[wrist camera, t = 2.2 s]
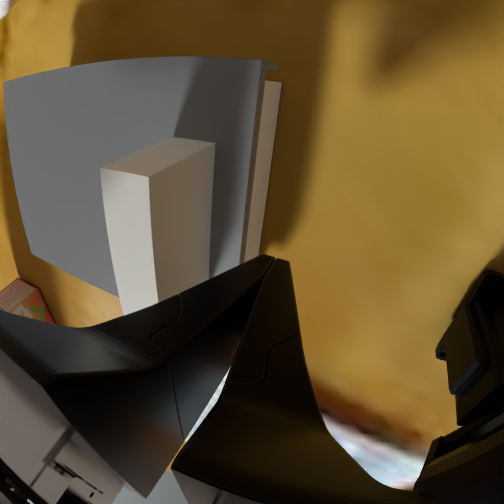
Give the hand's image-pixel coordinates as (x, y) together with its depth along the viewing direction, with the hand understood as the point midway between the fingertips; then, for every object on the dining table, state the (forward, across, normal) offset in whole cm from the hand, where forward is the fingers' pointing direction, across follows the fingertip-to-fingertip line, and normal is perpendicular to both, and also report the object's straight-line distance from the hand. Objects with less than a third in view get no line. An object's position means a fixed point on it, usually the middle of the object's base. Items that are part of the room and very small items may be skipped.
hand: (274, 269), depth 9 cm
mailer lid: (+3, +9, 0) cm, 10 cm away
